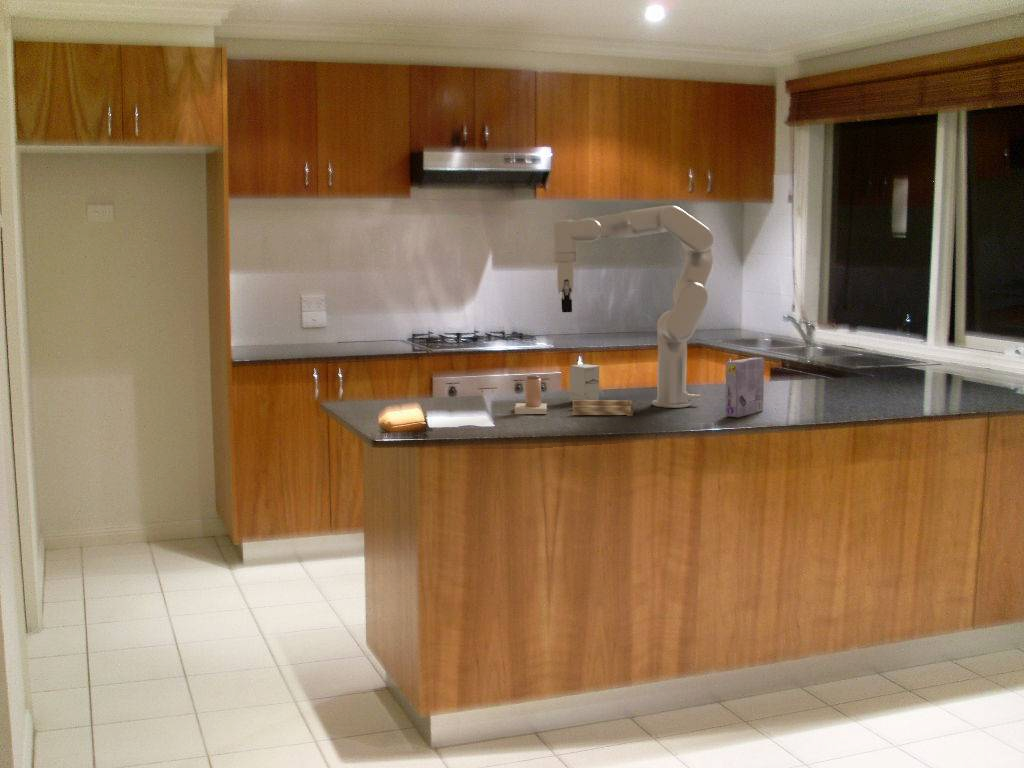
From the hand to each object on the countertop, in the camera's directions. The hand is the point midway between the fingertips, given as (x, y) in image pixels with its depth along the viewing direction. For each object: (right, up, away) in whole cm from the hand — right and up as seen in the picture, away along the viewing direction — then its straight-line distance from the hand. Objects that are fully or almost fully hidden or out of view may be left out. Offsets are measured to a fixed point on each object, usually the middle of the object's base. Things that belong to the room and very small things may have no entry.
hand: (566, 310), depth 358 cm
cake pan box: (+57, -34, -8) cm, 66 cm away
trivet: (-12, -33, -4) cm, 35 cm away
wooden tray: (+11, -33, -5) cm, 35 cm away
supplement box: (+7, -30, +15) cm, 34 cm away
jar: (-11, -31, -5) cm, 33 cm away
